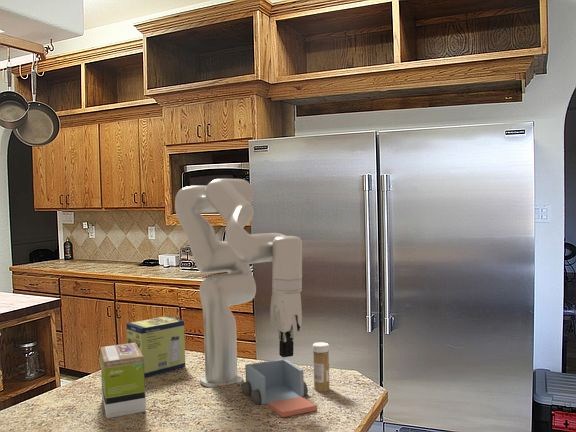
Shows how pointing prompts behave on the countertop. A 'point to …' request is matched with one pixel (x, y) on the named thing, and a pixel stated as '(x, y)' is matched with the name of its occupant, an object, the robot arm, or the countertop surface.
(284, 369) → the box
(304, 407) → the panel
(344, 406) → the countertop surface
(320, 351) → the sprinkles bottle
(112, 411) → the tea box
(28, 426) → the countertop surface
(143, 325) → the protein box
